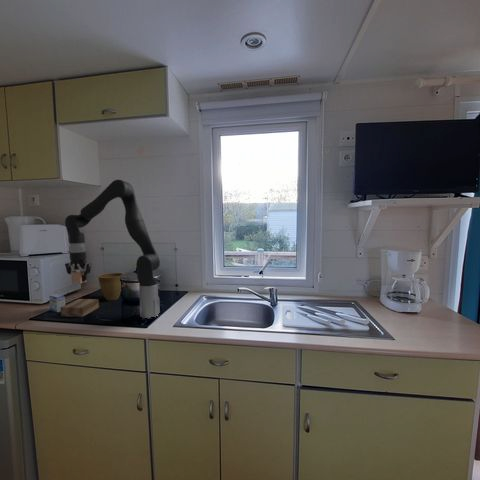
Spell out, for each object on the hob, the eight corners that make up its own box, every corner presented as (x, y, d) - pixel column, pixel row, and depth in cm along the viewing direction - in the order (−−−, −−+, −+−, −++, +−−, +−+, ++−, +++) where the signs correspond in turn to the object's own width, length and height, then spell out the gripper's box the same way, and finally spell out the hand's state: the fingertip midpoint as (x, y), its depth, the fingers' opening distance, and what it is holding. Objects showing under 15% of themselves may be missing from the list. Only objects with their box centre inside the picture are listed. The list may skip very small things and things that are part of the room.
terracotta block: (86, 281, 139) (86, 271, 138) (80, 283, 134) (80, 272, 134) (78, 281, 139) (77, 270, 139) (71, 283, 134) (71, 272, 134)
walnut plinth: (98, 307, 145) (98, 299, 144) (82, 316, 131) (82, 307, 130) (79, 307, 145) (78, 298, 145) (61, 316, 131) (60, 307, 131)
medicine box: (49, 310, 140) (48, 295, 140) (58, 307, 144) (57, 293, 144) (57, 312, 137) (56, 297, 136) (65, 310, 141) (65, 295, 140)
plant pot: (129, 298, 162) (128, 274, 161) (105, 304, 150) (104, 278, 149) (118, 294, 171) (117, 271, 170) (95, 299, 159) (93, 275, 158)
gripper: (94, 250, 139) (95, 279, 140) (70, 250, 139) (71, 279, 141) (85, 252, 131) (87, 283, 133) (59, 251, 132) (61, 283, 133)
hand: (79, 281), depth 137 cm, fingers closed on terracotta block, 5 cm apart
